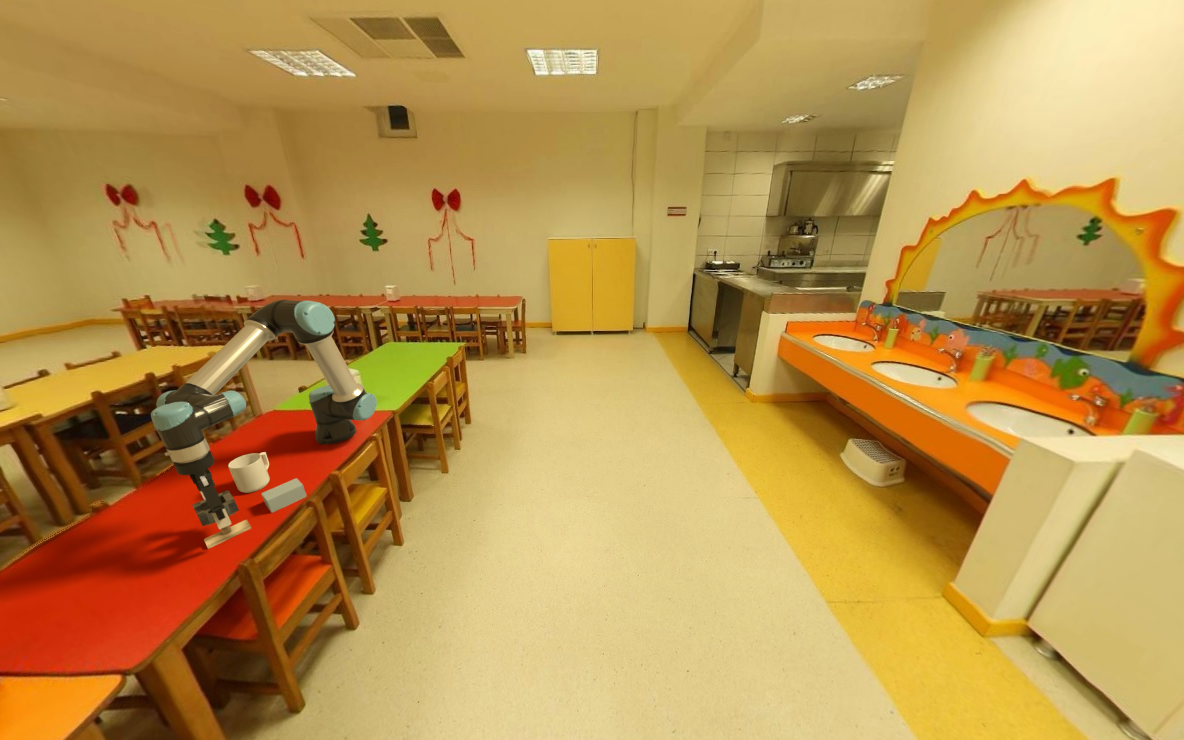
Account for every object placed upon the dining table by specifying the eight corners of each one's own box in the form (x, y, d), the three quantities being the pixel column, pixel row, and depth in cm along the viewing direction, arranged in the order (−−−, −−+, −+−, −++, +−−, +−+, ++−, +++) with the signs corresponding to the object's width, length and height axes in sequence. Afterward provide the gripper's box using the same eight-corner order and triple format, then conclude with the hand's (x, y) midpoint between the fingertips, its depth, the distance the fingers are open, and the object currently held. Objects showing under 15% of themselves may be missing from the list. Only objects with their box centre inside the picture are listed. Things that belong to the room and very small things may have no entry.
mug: (257, 494, 133) (246, 468, 128) (232, 494, 133) (220, 468, 128) (283, 473, 144) (274, 448, 140) (260, 472, 144) (250, 448, 140)
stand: (246, 520, 121) (229, 480, 115) (252, 529, 118) (234, 488, 112) (204, 540, 114) (183, 498, 108) (209, 550, 110) (187, 507, 104)
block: (300, 489, 135) (296, 478, 133) (306, 496, 132) (302, 484, 130) (265, 505, 128) (261, 493, 126) (271, 512, 125) (266, 500, 123)
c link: (232, 499, 118) (228, 490, 116) (239, 510, 113) (235, 501, 112) (196, 514, 112) (192, 504, 110) (202, 526, 107) (198, 516, 106)
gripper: (164, 446, 109) (193, 504, 117) (181, 480, 95) (212, 543, 103) (200, 435, 115) (225, 491, 123) (221, 466, 101) (247, 527, 109)
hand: (219, 515), depth 113 cm, fingers open, 13 cm apart
